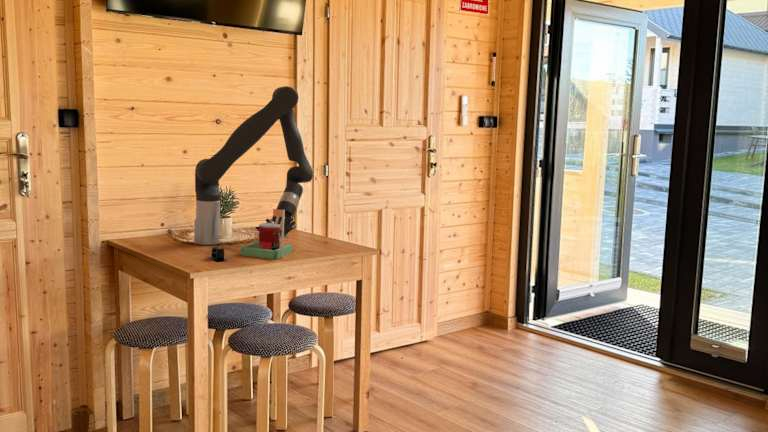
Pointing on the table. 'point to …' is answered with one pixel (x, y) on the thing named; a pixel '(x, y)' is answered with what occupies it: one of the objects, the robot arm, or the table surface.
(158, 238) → the table surface
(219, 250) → the black block
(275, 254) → the green u-shaped frame
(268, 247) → the canned food
